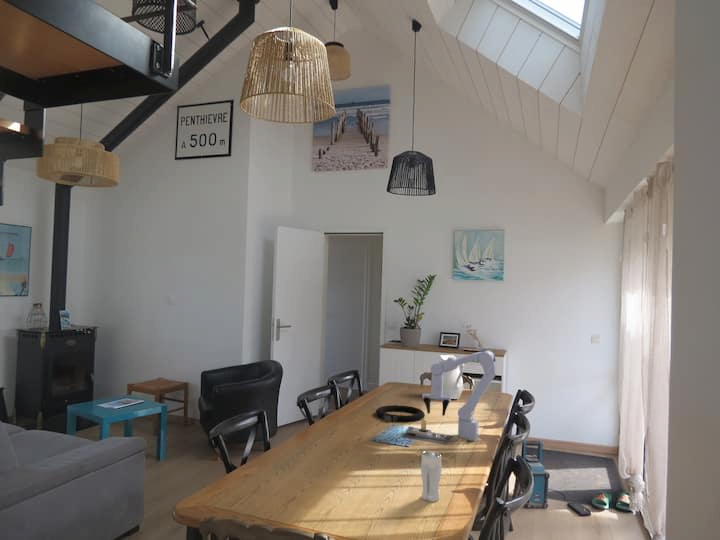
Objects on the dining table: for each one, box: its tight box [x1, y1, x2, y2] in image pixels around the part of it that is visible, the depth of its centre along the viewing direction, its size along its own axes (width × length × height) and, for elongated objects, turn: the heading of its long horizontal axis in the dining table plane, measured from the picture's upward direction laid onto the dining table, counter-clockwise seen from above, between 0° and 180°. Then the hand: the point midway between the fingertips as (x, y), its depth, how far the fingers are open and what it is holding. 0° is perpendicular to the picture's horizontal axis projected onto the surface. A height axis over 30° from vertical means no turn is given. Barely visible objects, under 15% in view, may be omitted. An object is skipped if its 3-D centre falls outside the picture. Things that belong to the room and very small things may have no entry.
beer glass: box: [420, 450, 443, 503], centre depth 176 cm, size 7×7×15 cm
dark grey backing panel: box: [400, 431, 454, 445], centre depth 246 cm, size 22×16×1 cm
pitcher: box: [439, 354, 465, 400], centre depth 338 cm, size 24×17×28 cm
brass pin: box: [420, 417, 427, 432], centre depth 247 cm, size 2×2×8 cm
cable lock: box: [375, 404, 426, 423], centre depth 287 cm, size 28×4×30 cm
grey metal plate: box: [405, 426, 448, 441], centre depth 247 cm, size 19×6×3 cm, turn 66°
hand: (436, 414), depth 256 cm, fingers open, 7 cm apart
